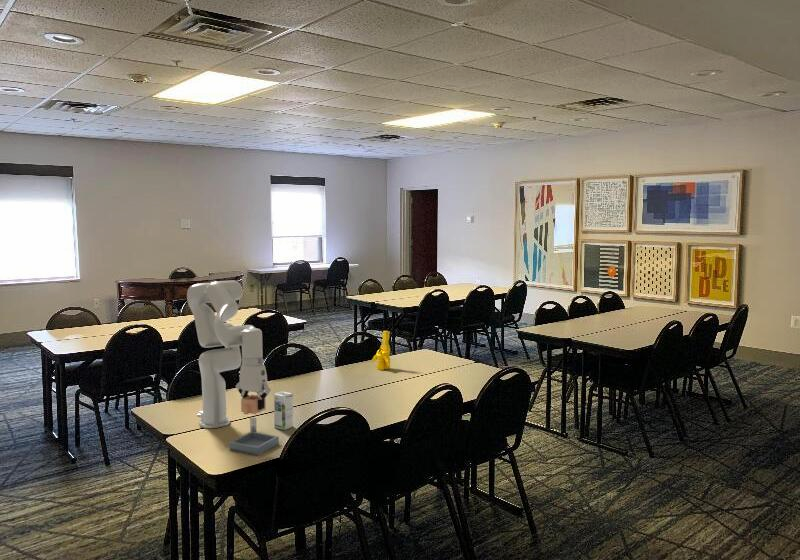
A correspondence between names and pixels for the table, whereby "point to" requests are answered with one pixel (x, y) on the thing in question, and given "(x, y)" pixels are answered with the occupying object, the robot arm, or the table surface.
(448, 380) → the table surface
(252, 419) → the stake
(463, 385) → the table surface
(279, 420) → the syrup box
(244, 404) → the salmon pink block
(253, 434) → the tray
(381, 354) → the figure statuette
